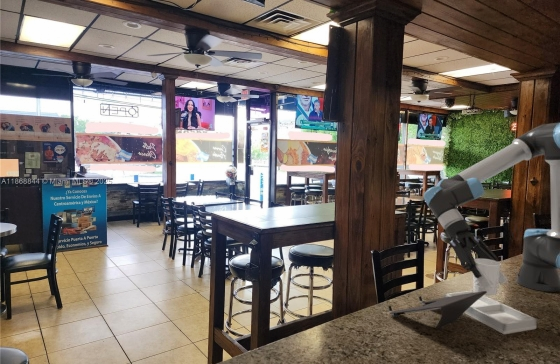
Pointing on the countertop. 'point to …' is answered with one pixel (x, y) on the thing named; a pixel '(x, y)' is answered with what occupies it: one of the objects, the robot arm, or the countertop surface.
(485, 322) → the white divided tray
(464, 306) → the portable electronic device stand
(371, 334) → the countertop surface
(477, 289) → the white cup
